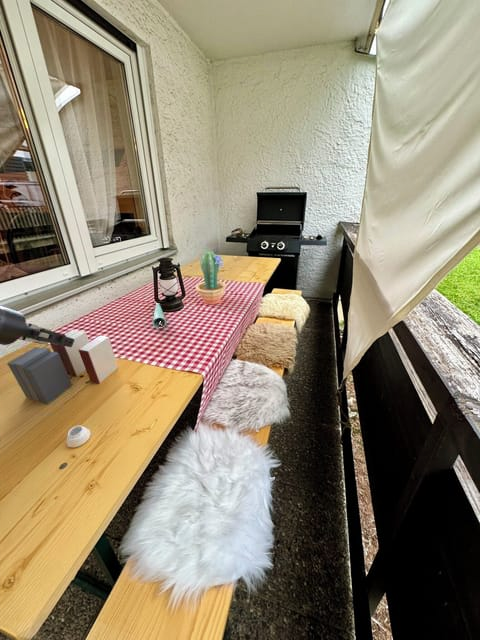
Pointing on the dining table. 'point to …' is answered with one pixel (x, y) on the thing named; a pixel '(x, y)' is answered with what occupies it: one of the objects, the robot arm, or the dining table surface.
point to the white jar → (77, 436)
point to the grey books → (40, 374)
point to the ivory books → (72, 352)
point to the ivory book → (98, 359)
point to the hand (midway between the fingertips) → (59, 340)
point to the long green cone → (158, 317)
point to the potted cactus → (211, 279)
